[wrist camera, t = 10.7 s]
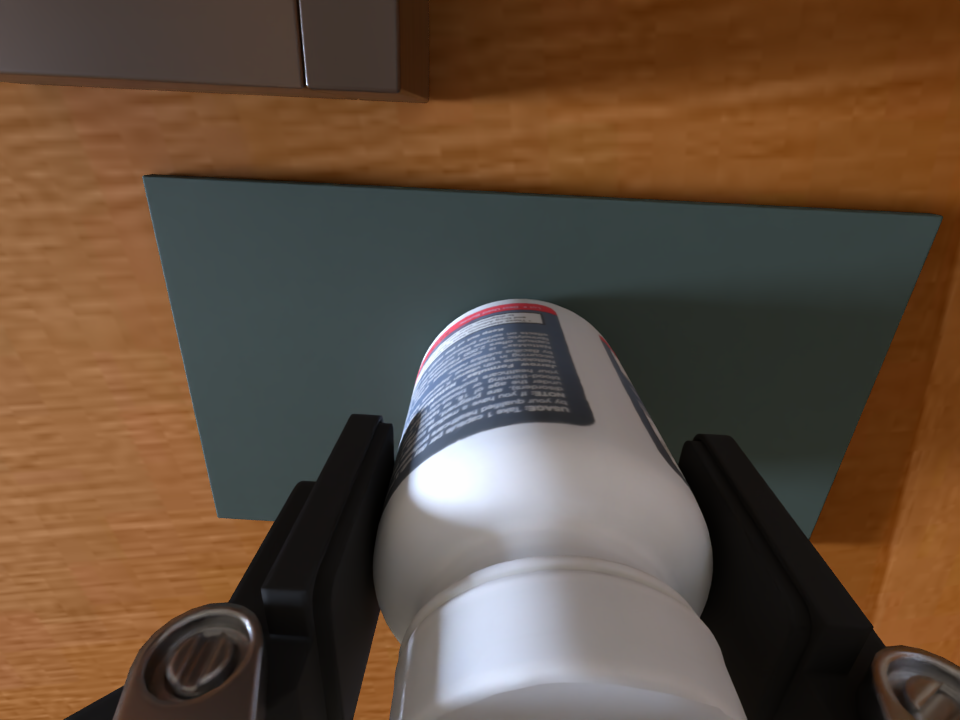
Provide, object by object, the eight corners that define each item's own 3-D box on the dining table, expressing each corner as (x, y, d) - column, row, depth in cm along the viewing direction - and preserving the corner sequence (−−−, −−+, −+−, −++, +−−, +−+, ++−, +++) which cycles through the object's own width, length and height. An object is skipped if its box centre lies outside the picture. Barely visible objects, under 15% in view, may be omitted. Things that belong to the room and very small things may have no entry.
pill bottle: (385, 421, 14) (240, 836, 6) (478, 255, 12) (457, 531, 4) (549, 498, 15) (622, 941, 7) (660, 357, 13) (947, 744, 5)
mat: (931, 213, 12) (945, 215, 11) (797, 543, 16) (804, 553, 15) (152, 173, 12) (140, 175, 11) (223, 509, 16) (217, 518, 16)
